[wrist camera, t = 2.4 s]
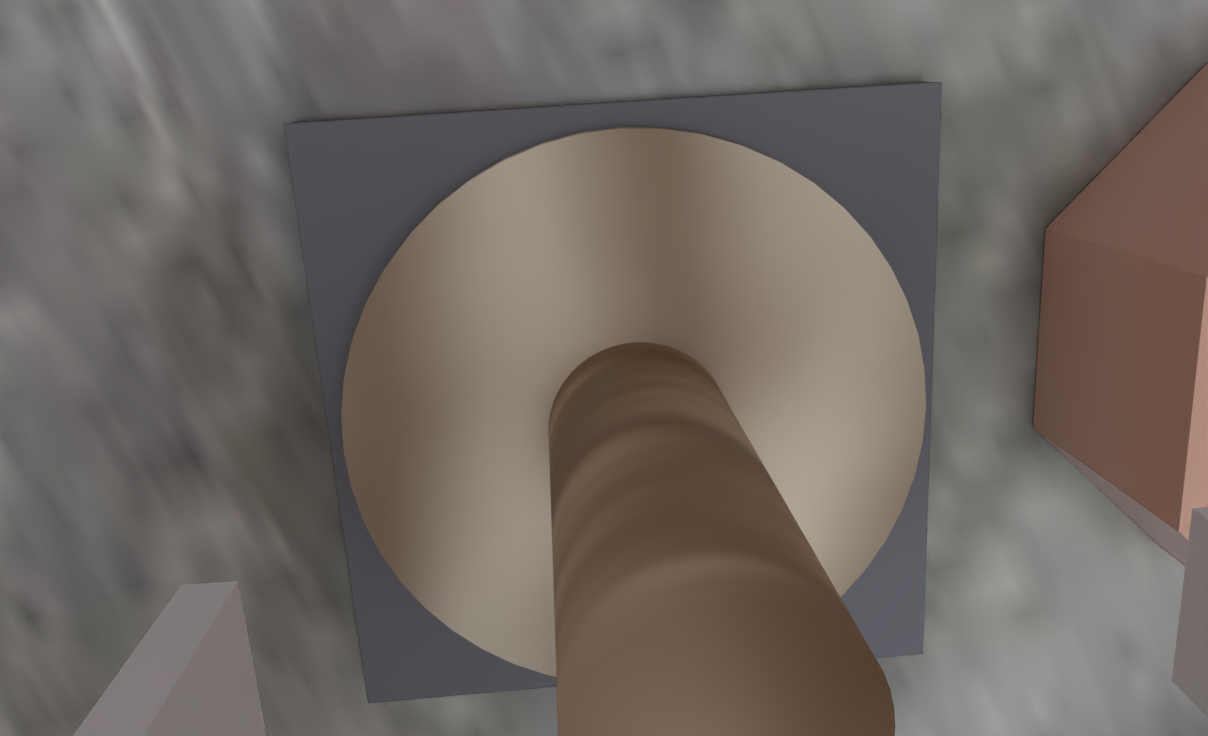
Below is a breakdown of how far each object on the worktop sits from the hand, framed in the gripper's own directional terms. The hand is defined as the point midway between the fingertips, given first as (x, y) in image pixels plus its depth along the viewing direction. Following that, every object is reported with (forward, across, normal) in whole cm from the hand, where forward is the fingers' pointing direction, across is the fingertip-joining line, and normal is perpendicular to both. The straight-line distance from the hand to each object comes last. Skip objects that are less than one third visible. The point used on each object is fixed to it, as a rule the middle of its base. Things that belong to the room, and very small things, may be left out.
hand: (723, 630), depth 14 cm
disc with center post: (+10, 0, 0) cm, 10 cm away
